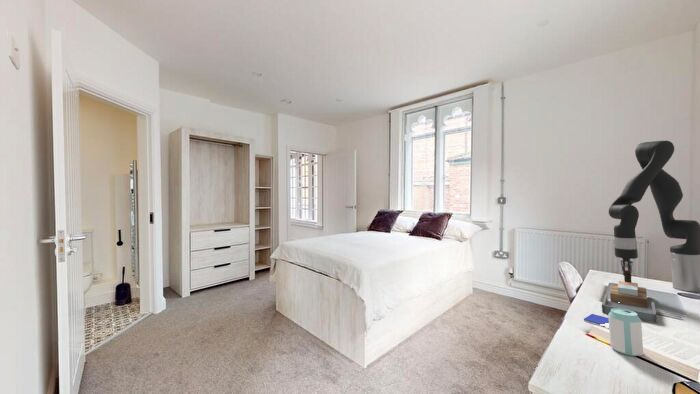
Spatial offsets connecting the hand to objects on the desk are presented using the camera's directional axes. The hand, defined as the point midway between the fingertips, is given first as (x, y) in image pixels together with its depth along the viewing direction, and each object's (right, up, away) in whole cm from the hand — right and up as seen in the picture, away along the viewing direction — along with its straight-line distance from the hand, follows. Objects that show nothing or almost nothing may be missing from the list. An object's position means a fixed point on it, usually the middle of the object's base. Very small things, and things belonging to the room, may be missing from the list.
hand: (628, 284), depth 125 cm
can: (-45, -7, -43) cm, 63 cm away
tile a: (-3, -1, -3) cm, 5 cm away
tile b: (-8, -1, -7) cm, 11 cm away
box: (-17, -6, -16) cm, 24 cm away
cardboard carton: (-4, -5, -5) cm, 8 cm away
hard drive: (-34, -7, -26) cm, 43 cm away
